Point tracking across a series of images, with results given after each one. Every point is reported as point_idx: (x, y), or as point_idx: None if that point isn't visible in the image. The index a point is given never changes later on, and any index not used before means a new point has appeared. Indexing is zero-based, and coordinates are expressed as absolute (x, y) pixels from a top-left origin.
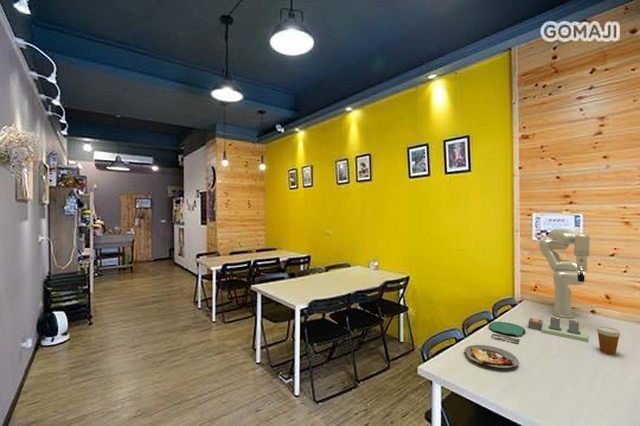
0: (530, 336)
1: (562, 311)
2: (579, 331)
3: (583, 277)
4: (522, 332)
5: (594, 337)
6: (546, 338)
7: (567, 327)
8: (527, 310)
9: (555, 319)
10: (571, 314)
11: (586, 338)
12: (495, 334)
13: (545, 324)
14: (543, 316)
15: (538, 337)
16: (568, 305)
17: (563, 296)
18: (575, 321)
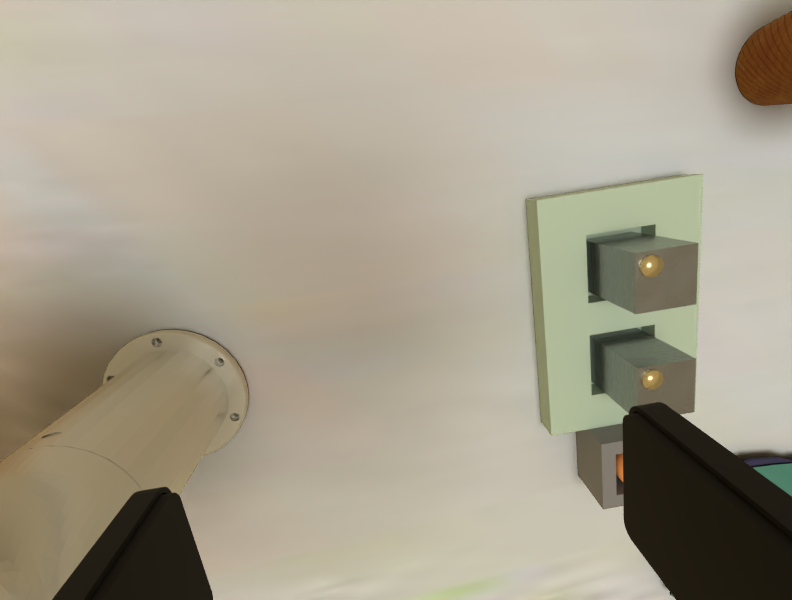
0: (762, 424)
1: (217, 404)
2: (585, 238)
3: (780, 516)
4: (774, 465)
5: (545, 157)
6: (745, 360)
7: (551, 309)
8: (267, 562)
9: (686, 385)
10: (146, 349)
11: (701, 184)
12: None
13: (582, 416)
14: (324, 467)
15: (754, 393)
16: (167, 398)
17: (156, 484)
18: (657, 271)
